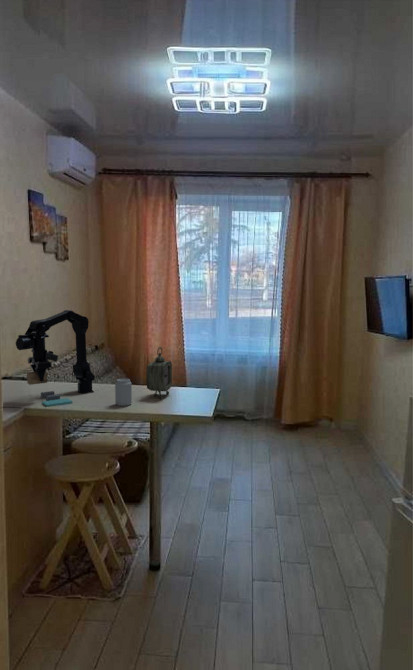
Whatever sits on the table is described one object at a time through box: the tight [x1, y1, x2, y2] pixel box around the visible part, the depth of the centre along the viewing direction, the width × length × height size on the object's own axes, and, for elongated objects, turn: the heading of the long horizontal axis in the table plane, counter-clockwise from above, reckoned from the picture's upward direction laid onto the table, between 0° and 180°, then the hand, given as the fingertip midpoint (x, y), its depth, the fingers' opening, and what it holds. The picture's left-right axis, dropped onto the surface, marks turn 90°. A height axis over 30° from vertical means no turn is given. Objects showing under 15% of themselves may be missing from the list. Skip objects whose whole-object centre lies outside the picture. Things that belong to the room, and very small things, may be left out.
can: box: [114, 378, 133, 407], centre depth 222 cm, size 8×8×12 cm
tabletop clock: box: [145, 346, 173, 400], centre depth 238 cm, size 14×9×25 cm, turn 167°
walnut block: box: [26, 371, 48, 386], centre depth 224 cm, size 8×5×5 cm, turn 123°
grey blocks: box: [40, 390, 61, 401], centre depth 232 cm, size 6×11×2 cm, turn 35°
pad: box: [41, 397, 73, 408], centre depth 224 cm, size 12×7×1 cm, turn 125°
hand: (40, 380), depth 225 cm, fingers closed on walnut block, 5 cm apart
